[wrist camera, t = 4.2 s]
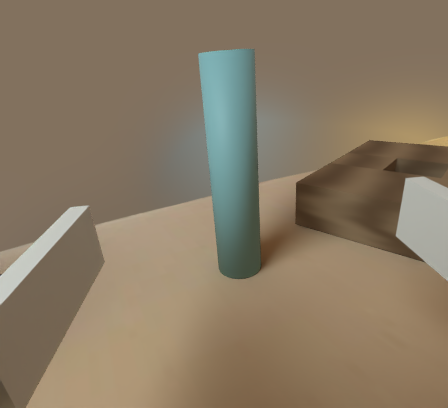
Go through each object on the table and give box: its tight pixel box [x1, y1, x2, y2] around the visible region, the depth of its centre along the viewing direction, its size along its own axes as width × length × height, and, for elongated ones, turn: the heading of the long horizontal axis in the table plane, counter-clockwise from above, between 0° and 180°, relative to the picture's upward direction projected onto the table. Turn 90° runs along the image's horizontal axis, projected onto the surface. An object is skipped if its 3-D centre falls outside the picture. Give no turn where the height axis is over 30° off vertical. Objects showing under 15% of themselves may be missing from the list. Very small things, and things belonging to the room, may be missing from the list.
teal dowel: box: [198, 49, 261, 279], centre depth 22 cm, size 4×4×16 cm
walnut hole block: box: [295, 140, 448, 262], centre depth 32 cm, size 16×20×4 cm
